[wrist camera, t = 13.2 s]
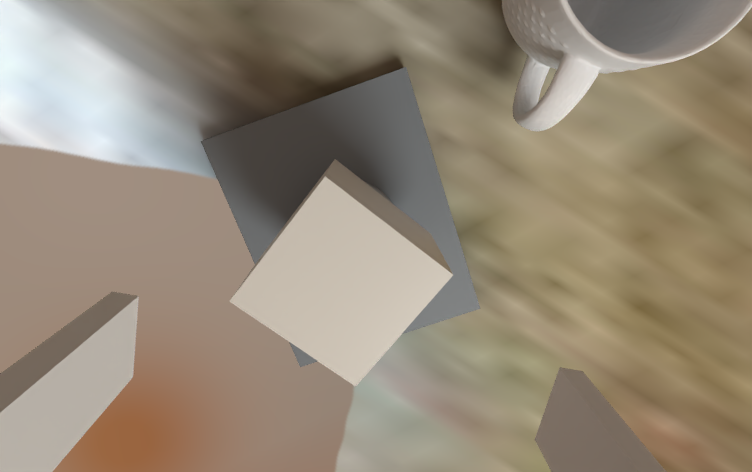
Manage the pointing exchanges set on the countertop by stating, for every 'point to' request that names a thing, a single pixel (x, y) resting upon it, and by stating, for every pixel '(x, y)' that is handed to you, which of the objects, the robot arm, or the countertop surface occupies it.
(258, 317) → the cream cube block
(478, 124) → the countertop surface
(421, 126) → the post base
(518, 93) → the mug
